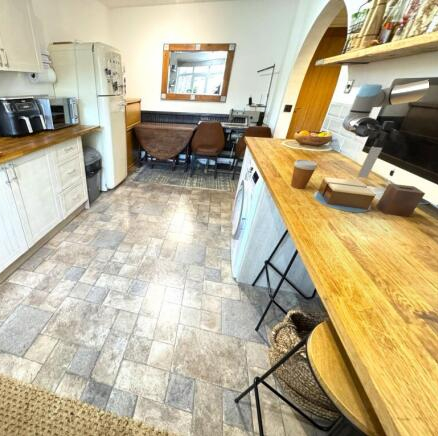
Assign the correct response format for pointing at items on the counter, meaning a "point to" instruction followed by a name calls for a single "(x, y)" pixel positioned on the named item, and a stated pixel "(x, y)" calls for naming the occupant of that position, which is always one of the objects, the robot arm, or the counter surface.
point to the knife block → (400, 200)
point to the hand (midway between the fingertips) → (390, 137)
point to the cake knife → (375, 151)
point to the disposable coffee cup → (302, 173)
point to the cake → (345, 195)
